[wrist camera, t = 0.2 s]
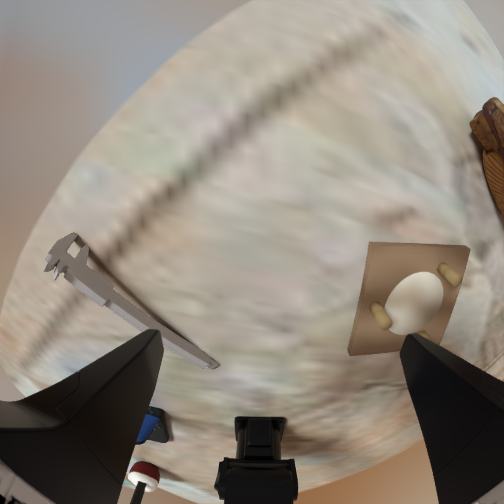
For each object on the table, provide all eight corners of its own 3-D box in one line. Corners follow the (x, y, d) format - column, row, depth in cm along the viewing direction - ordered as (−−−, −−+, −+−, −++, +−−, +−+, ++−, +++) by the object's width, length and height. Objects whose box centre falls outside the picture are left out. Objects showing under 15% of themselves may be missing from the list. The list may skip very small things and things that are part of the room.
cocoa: (152, 472, 43) (142, 514, 32) (127, 460, 41) (114, 503, 30) (171, 467, 39) (161, 516, 28) (143, 454, 38) (129, 505, 27)
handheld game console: (87, 413, 35) (68, 451, 26) (64, 360, 30) (33, 402, 22) (171, 438, 35) (158, 484, 27) (161, 389, 30) (141, 447, 22)
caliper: (72, 237, 24) (33, 260, 18) (76, 230, 23) (37, 252, 18) (213, 366, 28) (204, 409, 23) (220, 362, 28) (212, 406, 22)
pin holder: (435, 340, 26) (450, 360, 23) (347, 349, 27) (356, 375, 23) (464, 245, 22) (487, 259, 19) (369, 241, 23) (387, 258, 19)
